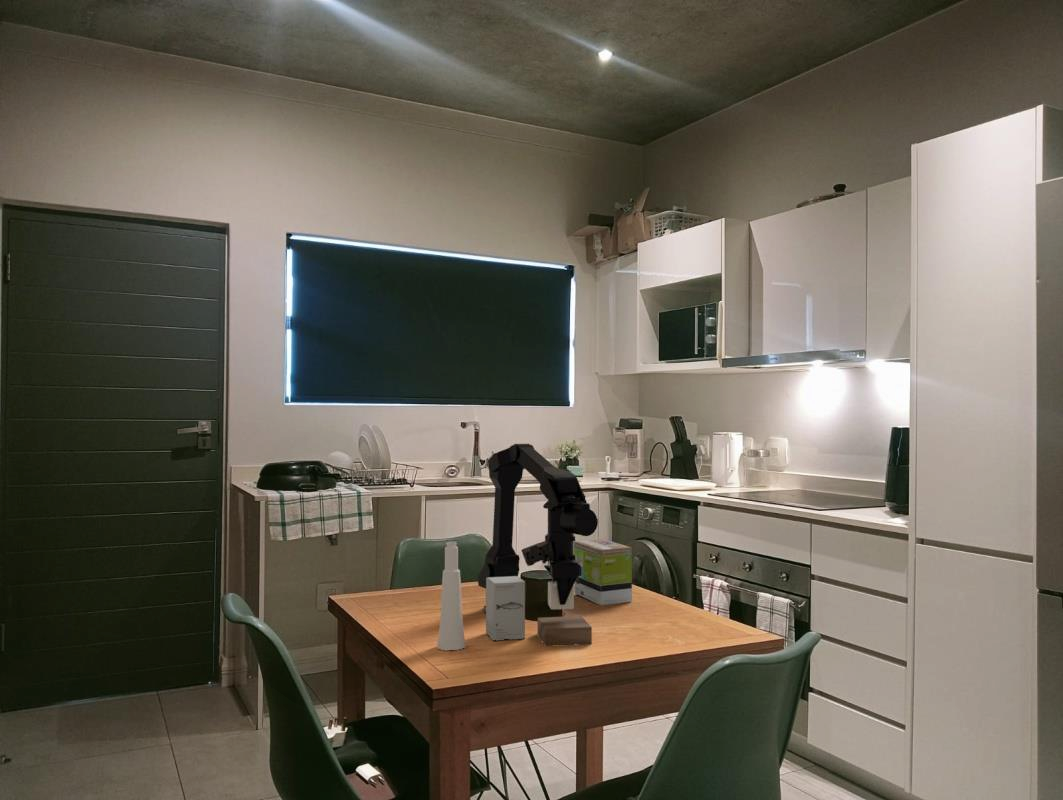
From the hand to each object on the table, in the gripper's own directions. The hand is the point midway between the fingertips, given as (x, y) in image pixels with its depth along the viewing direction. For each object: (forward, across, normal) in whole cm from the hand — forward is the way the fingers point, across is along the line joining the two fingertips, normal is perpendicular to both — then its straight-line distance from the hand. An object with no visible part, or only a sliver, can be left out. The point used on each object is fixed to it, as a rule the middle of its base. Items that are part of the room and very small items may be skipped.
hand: (560, 601), depth 180 cm
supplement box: (+8, -3, -12) cm, 15 cm away
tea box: (+8, -38, +17) cm, 42 cm away
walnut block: (+8, +1, +1) cm, 8 cm away
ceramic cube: (+1, 0, 0) cm, 1 cm away
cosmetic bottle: (+8, +5, -24) cm, 26 cm away
